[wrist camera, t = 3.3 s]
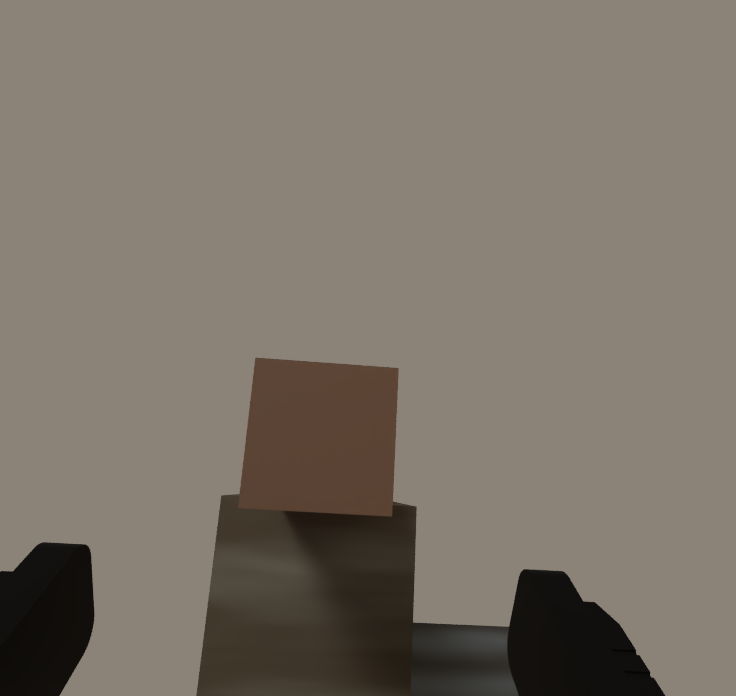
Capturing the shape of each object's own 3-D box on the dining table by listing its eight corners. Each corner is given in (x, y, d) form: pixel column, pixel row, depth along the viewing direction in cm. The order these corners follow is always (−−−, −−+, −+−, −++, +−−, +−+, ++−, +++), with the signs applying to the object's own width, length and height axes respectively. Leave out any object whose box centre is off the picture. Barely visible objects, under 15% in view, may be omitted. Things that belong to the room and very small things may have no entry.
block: (392, 517, 12) (398, 368, 13) (238, 508, 12) (255, 357, 13) (347, 497, 37) (350, 446, 38) (297, 494, 37) (301, 443, 38)
